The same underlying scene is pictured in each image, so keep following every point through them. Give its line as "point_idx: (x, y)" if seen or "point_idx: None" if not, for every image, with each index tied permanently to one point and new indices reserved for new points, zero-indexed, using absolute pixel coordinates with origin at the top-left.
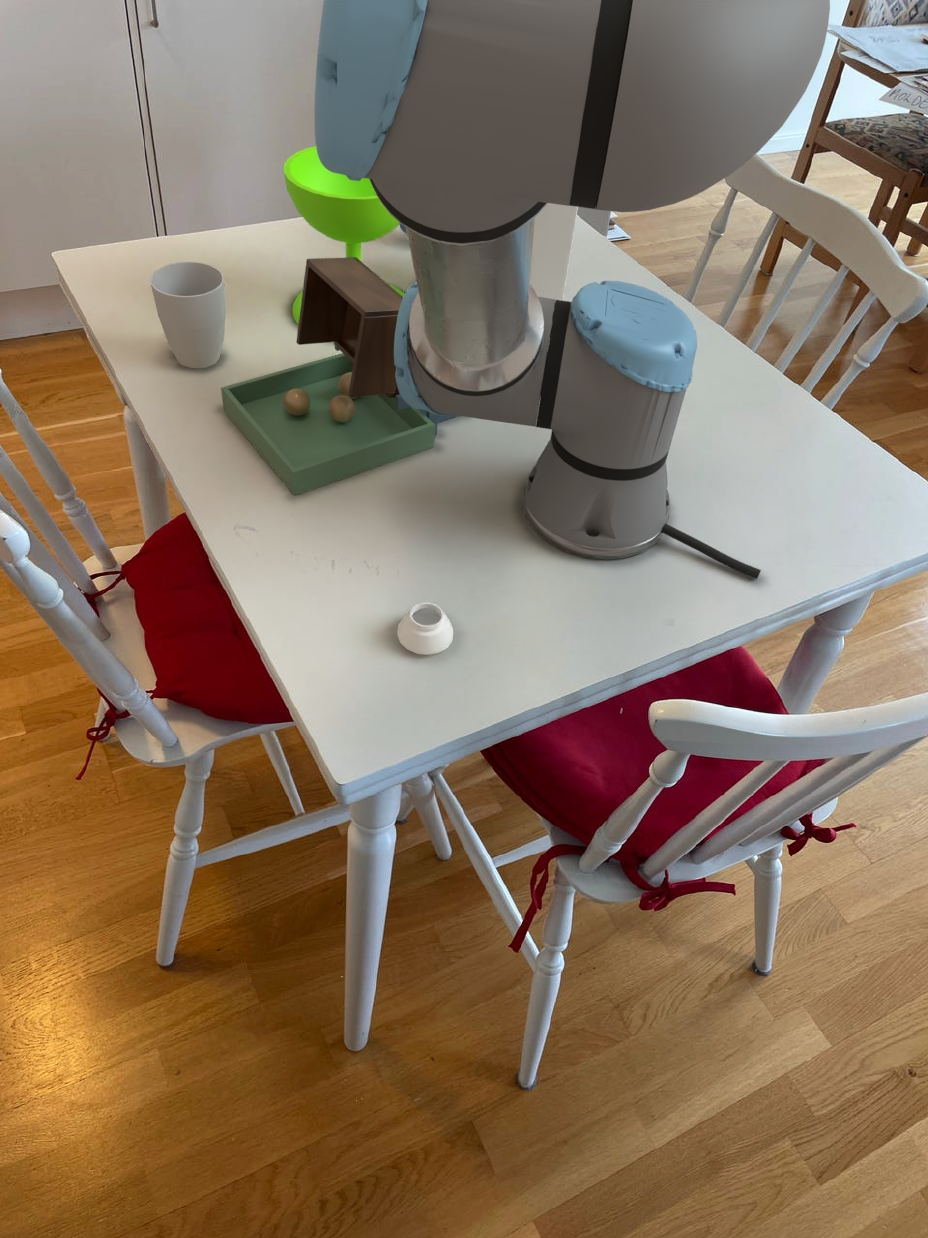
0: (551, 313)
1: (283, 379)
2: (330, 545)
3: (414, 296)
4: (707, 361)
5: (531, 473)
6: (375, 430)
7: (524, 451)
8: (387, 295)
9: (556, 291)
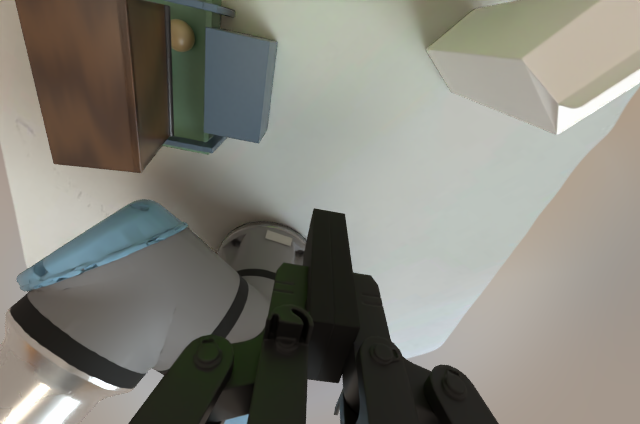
0: (164, 369)
1: None
2: (84, 180)
3: (30, 287)
4: (499, 212)
5: (238, 237)
6: (178, 100)
7: (275, 195)
8: (114, 133)
9: (468, 93)
